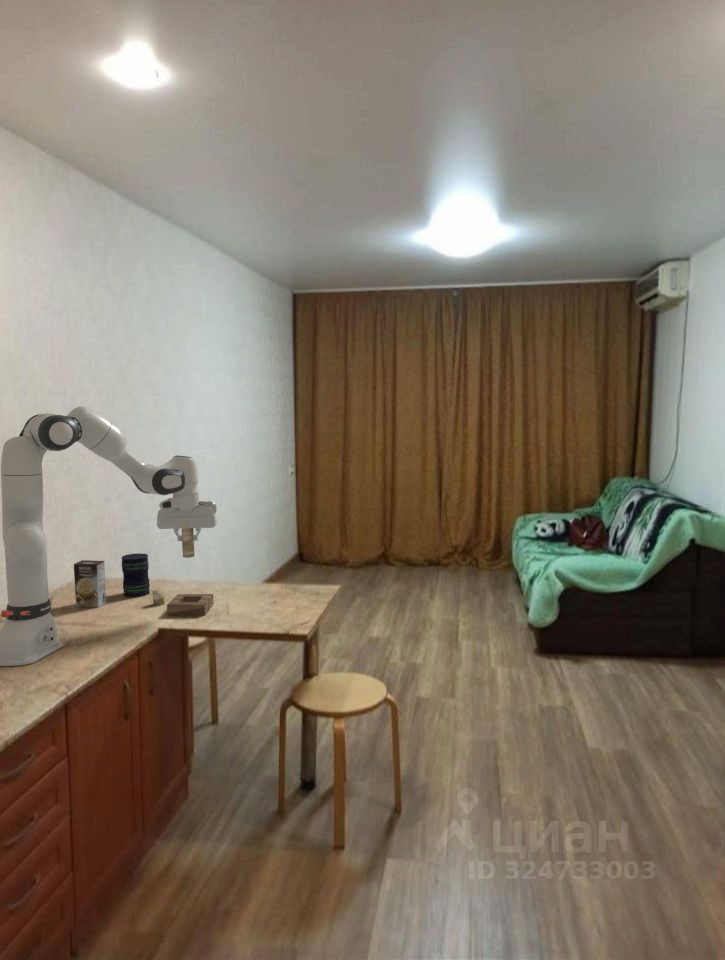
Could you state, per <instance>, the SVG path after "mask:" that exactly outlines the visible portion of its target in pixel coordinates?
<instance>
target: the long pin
mask: <svg viewBox="0 0 725 960" xmlns="http://www.w3.org/2000/svg"><path fill="white" fill-rule="evenodd" d="M181 535H182V541H181V545H182V558H186V559H187V558H188V559H189V558H194V557H195V541H193V536H194V535H195V533H194V528H189V527H188V524H184V528H181Z"/></svg>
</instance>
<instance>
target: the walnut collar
mask: <svg viewBox="0 0 725 960" xmlns="http://www.w3.org/2000/svg"><path fill="white" fill-rule="evenodd" d="M213 604H215V602H214V593H193V594H192V593H183V594H181V593H177V594H176V595H175V596H174V597H173V598H172V599H171V600H170V601H169V602H168V603H167V604H166V611H167V612H166V613H167V617H192V616H193V617H200V616H201V615H202V616H206V615H207V614H208V612H209V611H210V610H211V609H212V607H213V606H214V605H213ZM212 605H213V606H212ZM210 608H211V609H210ZM209 609H210V610H209ZM206 613H207V614H206ZM202 616H201V617H202Z"/></svg>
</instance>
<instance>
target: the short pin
mask: <svg viewBox="0 0 725 960" xmlns="http://www.w3.org/2000/svg"><path fill="white" fill-rule="evenodd" d="M152 603H153V605H152V606H155V607H157V606H159V607H160V606H164V605H165V604H166V603H165V590H164V589H160V588H159V589H154V590H152Z"/></svg>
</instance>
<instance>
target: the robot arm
mask: <svg viewBox="0 0 725 960" xmlns="http://www.w3.org/2000/svg"><path fill="white" fill-rule="evenodd" d="M76 442H77V443H79V444H81V445H82V446H84V447H85V448H87V449H88V451H91V452H92V453H93V454H95V455H97V456H98V457H101V458H102V459H105V460H107V461H109V462H111V463H112V464H113V465H114V466H116V467H117V468H118V469H120V470H121V471H122V472H124V474H126V475H127V476H128V477H129V478H130V479H131V480H132V483H133V484H134V485H135V487H136V489H137V490H138V491H139V492H141V493H144V494H152V495H158V496H169V495H171V494H172V497H168V498H167V499H164V500H162V501H160V502H159V505H158V506H159V508H160V509H159V510H158V512H157V517H156V525H157V526H156V527H157V528H158V529H159V530H168V529H169V530H173V533H174V534H175V536H176V540H177V542H182V534H180V532H179V531H180V529H181V530H182V528H184V524H188V527H189V528H193V529H195V532H196V534H194V536H193V541H194V542H197V541H199V535H200V533H201V531H202V529H207V528H208V529H210V528H211V529H213V528H215V527H216V526H217V523H218V522H217V521H218V520H217V516H216V513H217V511H218V510H217V504H216V503H215V502H213V501H210V500H209V501H208V500H207V501H205V500H204V501H203V500H202V501H201V500H200V491H199V488H198V484H199V473H198V466H197V465H198V464H197V462H196V459H195V458H194V457H192V456H188V455H187V456H186V455H178V454H177V455H174V456H172V458H171V459H170V460H168V461H167V462H165V463H163V464H162V465H153V464H149V463H148V464H147V463H144V462H142V461H141V460H140V459H139V458H137V457H136V456H134V454H133V453H131V452H130V451H129V450H128V449H127V448H126V444H127V437H126V435H125V433H124V432H123V431H122V430H121V429H120V428H119V427H118V426H117V425H116V424H114V423H113V422H112V421H110V420H109V419H108V418H106V417H104V416H103V415H102V414H100V413H98V412H97V411H94V410H93V409H91V408H89V407H87V406H83V405H82V406H77V407H75V408H73V409H72V410H70V411H69V412H68V414H67V415H62V414H55V413H40V414H35V415H33V416H31V417H30V418H28V420H26V422H25V424H24V426H23V429H22V430H21V431H20V433H19V435H18V436H14V437H11V438H9V439H7V440H6V441H5V442H4V444H3V445H2V452H1V459H0V485H1V487H0V488H1V516H2V517H1V519H2V520H1V521H2V525H1V527H2V541H3V546H4V557H5V558H4V559H5V574H6V575H5V576H6V577H5V578H6V590H7V604H6V609H5V610H4V609H2V610H1V612H0V617H1V618H5V620H4V622H3V624H2V626H1V628H0V667H11V666H12V667H13V666H14V667H15V666H25V665H30V664H33V663H35V662H38V661H39V660H40V659H41V660H42V659H43V658H45V657H46V656H48V655H50V654H52V653H54V652H56V651H57V650H59V649H61V648H63V647H64V642H62V641H60V637H59V632H58V624H57V621H56V618H55V617H54V616H53V615H52V613H51V612H52V602H51V599H50V597H49V582H48V581H49V580H48V549H47V548H48V547H47V537H46V533H45V532H44V528H43V526H44V525H43V521H44V519H43V516H44V515H43V514H44V512H43V510H44V481H43V479H44V478H43V459H44V456H45V454H46V453H47V452H48V451H52V452H61V451H64V450H67V449H69V448H70V447H71V446H73V445H74V444H75V443H76Z"/></svg>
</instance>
